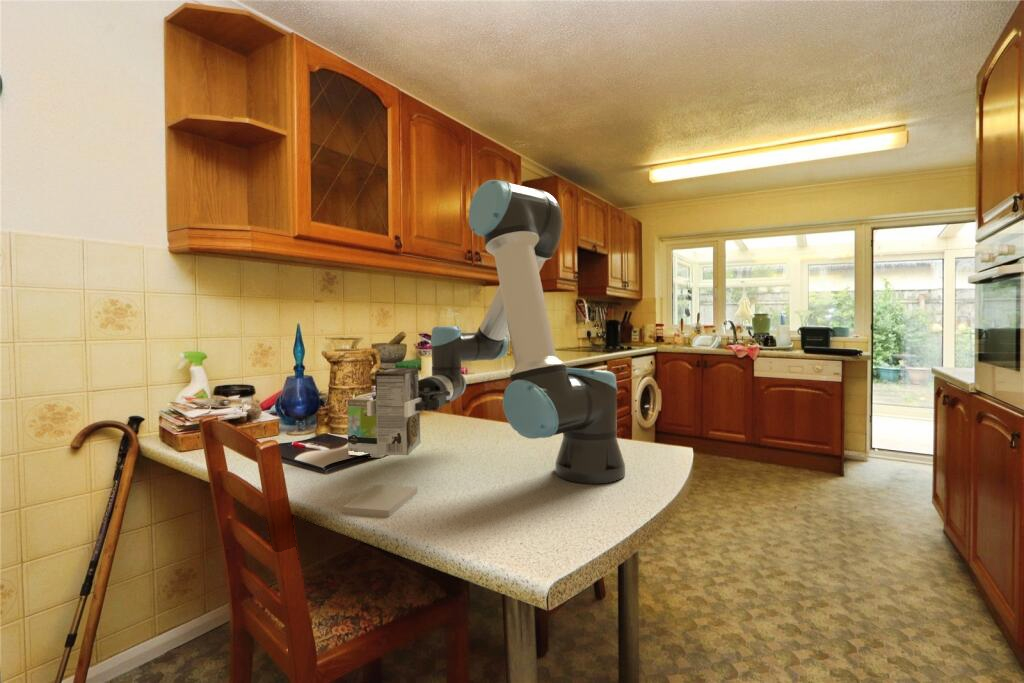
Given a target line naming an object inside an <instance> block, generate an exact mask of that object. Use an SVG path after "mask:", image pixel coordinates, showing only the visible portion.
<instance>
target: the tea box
mask: <svg viewBox="0 0 1024 683" xmlns="http://www.w3.org/2000/svg"><path fill="white" fill-rule="evenodd" d="M375 395H376V391H374V392H369V393H366V394H362V395H359V396H354V397H350V398H348V399H347V452H348V451H354V452H364V453H368V454H370V456H371V457H370V458H377V459H378V458H380V459H381V458H383V457H385V456H386V455H378V454H377V422H376V414H375V415H372V416H367V402H368V401H372V400H373V396H375Z"/></svg>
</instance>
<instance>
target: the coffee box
mask: <svg viewBox="0 0 1024 683" xmlns="http://www.w3.org/2000/svg"><path fill="white" fill-rule="evenodd" d="M374 375H375V376H374V381H375V382H374V383H375V392H376V422H377V454H378V455H385V456H408V455H410V454H411V453H412V452H413V451H414V450H415V449H416V448H417V447H419V445H420V444H421V442H422V441H421V416H420V414H421V413H420V412H419V413H416V414H414V415H412V416H410V417H404V403H406V402H408V401H411V400H413V399H416V398H419V380H420V379H419V378H420V377H419V368H404V367H393V368H388V369H384V370H380V371H378V372H375V373H374Z"/></svg>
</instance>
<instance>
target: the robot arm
mask: <svg viewBox="0 0 1024 683" xmlns="http://www.w3.org/2000/svg"><path fill="white" fill-rule="evenodd" d="M563 220H564V218H563V212H562V209H561V207H560V205H559V203H558V201H557V199H556V198H555V197H554V196H553V195H551V194H550V193H549V192H547V191H545V190H543V189H539V188H534V187H528V186H525V185H524V186H523V185H519V184H516V183H515V184H514V183H510V182H509V181H507V180H496V179H489V180H486V181H485V182H484V183H482V184H481V185H480V186H479V187H478V188H477V189H476V191H475V193H474V195H473V196H472V200H470V204H469V209H468V223H469V227H470V229H471V231H472V232H473V233H474V234H475V235H477V236H478V237H482V238H483V240H484V241H483V242H484V246H485V251H486V252H487V253H489V254H490V255H492V256H493V257H494V260H495V267H496V271H497V276H498V282H499V285H498V287H497V289H496V291H495V293H494V296H493V297H492V300H491V302H490V304H489V306H488V308H487V310H486V313H485V315H484V317H483V318H482V321H481V322H480V325H479V326H478V329H477V331H476V332H461V331H462V330H461V327H460V326H457V325H455V326H454V325H453V326H451V325H450V326H443V325H442V326H441V325H439V326H438V325H437V326H433V328H432V330H431V336H430V347H431V348H430V349H431V375H430V376H427V377H425V378H421V379H419V398H416V399H413V400H411V401H408V402H406V403H404V417H410V416H412V415H414V414H416V413H419V412H422V411H424V412H427V411H428V412H429V411H438V410H439V409H441V408H443V407H444V406H446V405H447V404H451V402H453V401H456V400H457V399H458V398H460V397H461V396H462V395H463V394H464V393H465V391H466V388H467V382H466V378H465V376H464V375H463V374H462V363H463V362H465V363H466V362H473V361H474V362H475V361H493V360H497V359H501V358H504V357H505V356H506V355H507V352H508V346H509V341H508V338H507V337H506V336H507V334H508V335H509V339H510V344H511V350H512V354H513V359H514V368H513V369H512V371H511V372H510V374H509V378H510V383H509V384H508V385H507V386H506V387H505V389H504V393H503V394H504V395H503V396H502V408H503V412H504V416H505V418H506V420H507V421H508V424H509V425H510V426H511V428H512V429H513V430H514V431H516V432H517V433H518V434H519V435H520V436H522V438H523V437H524V438H526V439H530V440H532V439H533V440H536V439H540V438H541V439H545V438H551V437H553V436H556V435H560V434H562V436H563V437H562V439H561V443H560V447H559V451H558V452H557V453H558V454H557V456H556V459H555V474H556V475H557V477H559V478H561V479H562V480H563V479H564V480H566V481H570V482H574V483H580V484H595V485H596V484H598V485H599V484H608V482H609V483H614V482H617V481H616V480H618V481H620V480H621V478H622V479H623V478H624V477H625V475H626V464H625V461H624V458H623V455H622V451H621V448H620V446H619V442H618V436H617V435H618V434H617V433H618V432H617V431H618V427H617V424H618V422H617V421H618V420H617V419H618V410H617V409H618V408H617V407H618V406H617V405H618V404H617V403H618V400H617V399H618V397H617V393H618V390H619V389H618V387H617V376H616V374H615V373H614V372H613V371H608V370H599V369H587V368H577V367H567V364H566V363H565V362H563V360H561V359H559V358H558V357H557V351H556V347H555V342H554V339H553V334H552V329H551V328H552V327H551V323H550V319H549V314H548V309H547V305H546V300H545V294H544V290H543V285H542V284H543V283H542V281H541V275H540V271H541V270H542V268H543V266H544V264H545V262H546V261H548V260H551V259H552V258H553V256H554V254H555V252H556V250H557V248H558V246H559V244H560V240H561V237H562V232H563V225H564V221H563ZM375 414H376V395H375V396H373V400H372V401H368V402H367V416H372V415H375ZM619 479H620V480H619ZM613 481H614V482H613Z"/></svg>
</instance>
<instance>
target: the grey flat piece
mask: <svg viewBox="0 0 1024 683" xmlns="http://www.w3.org/2000/svg"><path fill="white" fill-rule="evenodd" d="M417 494H418V487H417V486H415V487H414V486H403V485H401V486H400V485H388V484H387V485H386V484H385V485H384V484H374V485H373V486H371V487H370V488H368V489H367V490H365V491H364V492H362V493H361V494H359V495H358V496H356V497H355V498H353V499H351V501H349V502H347V503H346V504H344V505H343V506H342V507H341V509H342V511H341V512H342V514H345V515H346V514H347V515H357V516H359V515H361V516H371V517H372V516H373V517H385V518H390V517H391V516H393V514H395V513H397V511H398V510H400V508H402V507H403V506H405V504H407V503H408V502H410V500H412V498H413V497H415V496H416V495H417Z"/></svg>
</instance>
